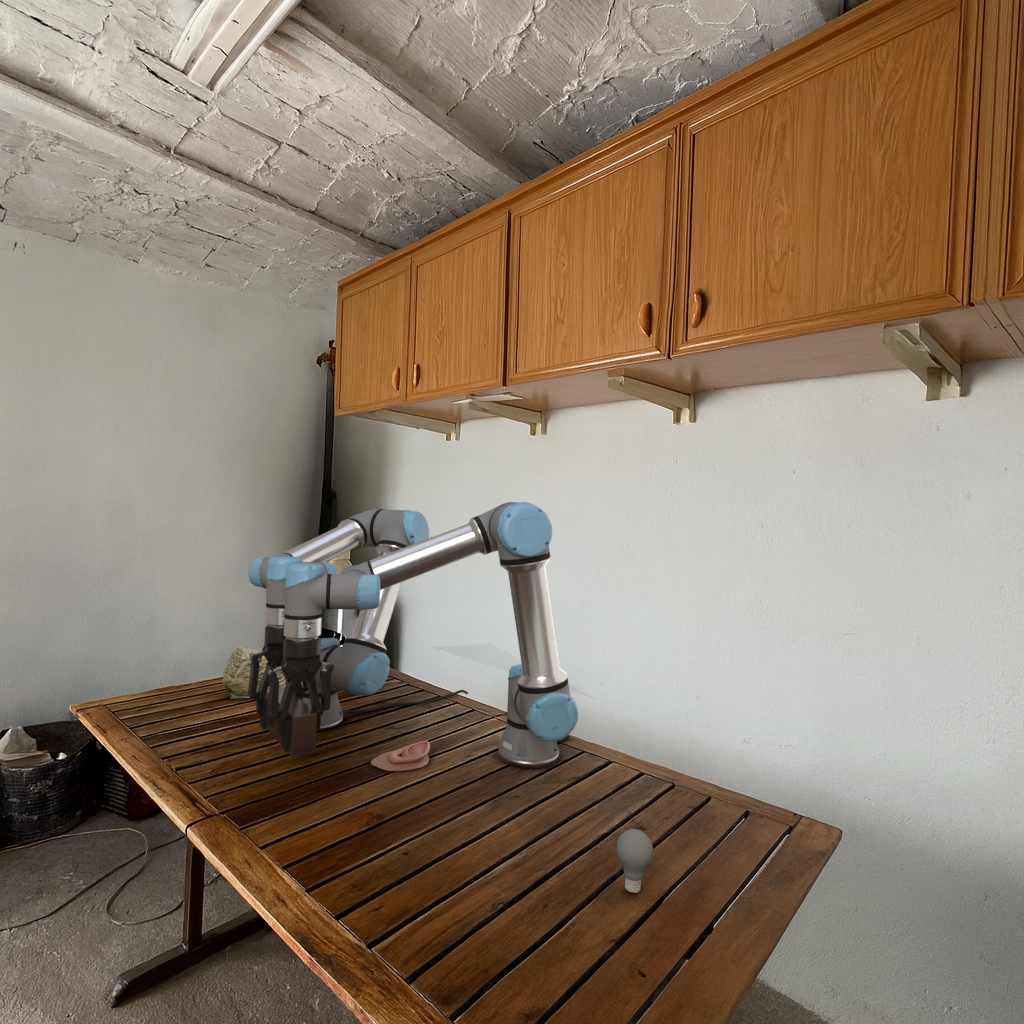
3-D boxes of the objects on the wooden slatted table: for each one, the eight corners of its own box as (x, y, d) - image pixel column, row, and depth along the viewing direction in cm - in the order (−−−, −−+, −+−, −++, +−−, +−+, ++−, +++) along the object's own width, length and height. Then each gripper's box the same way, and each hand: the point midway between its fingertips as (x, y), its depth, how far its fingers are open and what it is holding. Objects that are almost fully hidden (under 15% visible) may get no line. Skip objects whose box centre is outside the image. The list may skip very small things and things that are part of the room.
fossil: (218, 695, 195) (220, 647, 195) (278, 685, 208) (279, 640, 207) (228, 703, 189) (230, 653, 188) (289, 692, 201) (290, 645, 201)
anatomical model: (365, 751, 148) (384, 733, 160) (364, 767, 148) (384, 749, 160) (419, 758, 146) (435, 740, 157) (418, 775, 146) (434, 756, 157)
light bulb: (610, 879, 108) (613, 822, 108) (644, 879, 109) (647, 822, 109) (619, 902, 102) (622, 840, 102) (655, 901, 103) (658, 840, 103)
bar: (263, 725, 147) (265, 689, 146) (285, 721, 150) (286, 686, 149) (291, 758, 129) (293, 717, 129) (315, 753, 132) (316, 713, 132)
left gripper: (242, 631, 136) (238, 738, 136) (329, 624, 147) (325, 722, 148) (233, 625, 142) (230, 727, 142) (318, 618, 153) (314, 713, 154)
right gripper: (263, 645, 125) (259, 762, 125) (350, 636, 136) (346, 744, 136) (253, 637, 131) (249, 749, 131) (337, 630, 142) (333, 733, 142)
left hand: (278, 724), depth 145 cm, fingers open, 6 cm apart
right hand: (298, 746), depth 134 cm, fingers closed on bar, 5 cm apart
